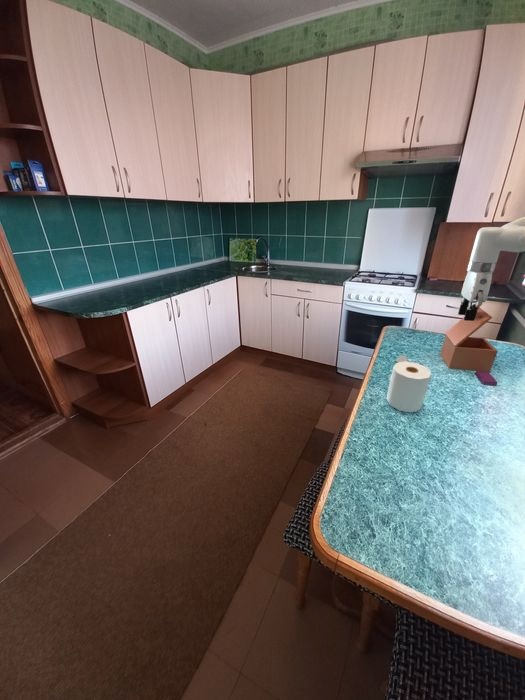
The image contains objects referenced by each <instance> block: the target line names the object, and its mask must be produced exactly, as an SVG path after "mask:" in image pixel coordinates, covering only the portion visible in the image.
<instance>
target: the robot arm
mask: <svg viewBox="0 0 525 700" xmlns="http://www.w3.org/2000/svg"><path fill="white" fill-rule="evenodd" d="M501 251H502V252H510V253H523V252H525V216H523V217H520V218H517V219H515V220H513V221H510V222H508V223H506V224H504V225H502V226H483V227H481V228H479V229H478V231H477V232H476V235H475V238H474V243H473V247H472V250H471V254H470V256H469V260H468V263H467V267H466V271H467V273H466V276H465V277H464V278H465V279H464V281H463V285H462V288H461V292H460V294H461V301H460V306H459V308H458V312H457V315H458V316H463V318H464V320H466V321H474V320H475V317H476V313H477V311H478V309H479V307H480V308H481V306H482V305H483V303H486V302H487V300H488V295H489V293H490V288H491V284H492V280H493V273H494V271H495V269H496V266H497V262H498V260H499V256H500V253H501ZM468 304H469V306H468V309H466V308H465V307H466V305H468Z"/></svg>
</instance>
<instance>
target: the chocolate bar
mask: <svg viewBox="0 0 525 700" xmlns="http://www.w3.org/2000/svg"><path fill="white" fill-rule="evenodd" d="M474 375H475V376H476V377H477V379H478V381H480V383H481V385H484V386H493V387H497V385H498V381H497V380H496V379H495V377H494V376H493V375H492V374H491V373H490V372H484V371H475V372H474Z"/></svg>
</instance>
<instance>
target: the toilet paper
mask: <svg viewBox="0 0 525 700" xmlns="http://www.w3.org/2000/svg"><path fill="white" fill-rule="evenodd" d="M391 374H392V375H391ZM391 374H390V376H391V380H390V381H389V384H388V390H387V393H386V394H387V395H386V401H387V402H388V405H389V406H391V407H392V408H395V410H398V411H400V412H405V413H410V414H412V413H415V412H420V411H421V409H422V407H423V404H424V401H425V397H426V394H427V390H428V386H429V383H430V381H431V380H430V379H431V376H432V371H431V370H430V369H429V368H428V367H427V366H425V365H422V364H421V363H418V362H412V361H408V362H406V361H404V362H395V364H394V365H393V366H392V370H391Z"/></svg>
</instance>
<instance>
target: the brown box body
mask: <svg viewBox="0 0 525 700" xmlns="http://www.w3.org/2000/svg"><path fill="white" fill-rule="evenodd" d="M498 353H499V350H498V349H496V347H495V346H494V345H492V344H491V342H489V341H488V340H487V339H486V338H485V337H480V336H479V337H477V336H469V337H468V338H467V339H466V340H464V341H463V342H462V343H461V344H459V345H458V346H457V347H456V346H455V345H454V344H453V343H452V341H451V340H450V339H449V338H448V336H447V335H446V334H445V336H444V338H443V343H442V346H441V349H440V353H439V356H440V357H441V358H442V360H443V362H444V363H445V364H446V366H447V368H448V369H452V370H453V369H454V370H462V371H463V370H464V371H473V372H476V371H484V372H489V373H490V372H491V370H492V367H493V365H494V363H495V360H496V357H497V355H498Z"/></svg>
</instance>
